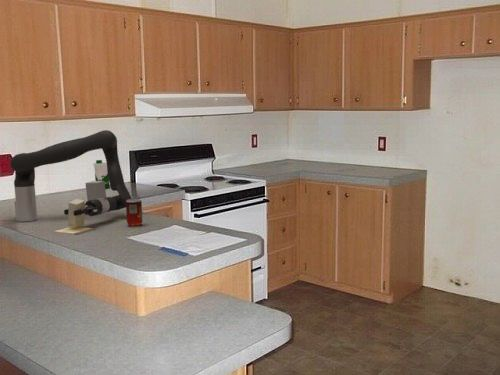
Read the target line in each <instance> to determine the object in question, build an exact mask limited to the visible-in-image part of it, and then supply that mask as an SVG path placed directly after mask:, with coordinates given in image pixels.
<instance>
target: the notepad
mask: <svg viewBox="0 0 500 375" xmlns="http://www.w3.org/2000/svg"><path fill="white" fill-rule="evenodd" d="M95 230H96V228H94V227H83V226H81V227H80V228H78V229H73V228H69V227H68V226H67V227H64V228H61V229H58V230H55V231H54V233H61V234H69V235H80V234H85V233H88V232H92V231H95Z"/></svg>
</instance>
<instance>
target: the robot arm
mask: <svg viewBox="0 0 500 375" xmlns="http://www.w3.org/2000/svg"><path fill="white" fill-rule="evenodd" d="M95 150H101V151H102V152H103V154H104V158H105V163H107V172H108V178H109V185H110V189H111V191H113V192H115V191H117V193H118V194H117V195H114V196H106V198H98V199H93V200H87V201H86V202H85V205H84V207H83V209H81V210H75V211H74V216H77V215H84V216H89V217H94V216H95V217H96V216H99V215H103V214H105V213H109V212H113V211H119V210H122V209H126V201H127V200H128V199H133V198H132V196H131V194H130V192H129V190H128V188H127V186H126V184H125V179H124V175H123V170H122V168H121V164H120V163H121V162H120V158H119V154H118V152H119V150H118V139H117V135H115V133H113V132H112V131H111V130H107V129H106V130H105V129H104V130H100V131H98V132H95V133H93V134H90V135H88V136H87V135H86V136H85V137H79V138H74V139H71V140H67V141H62V142H59V143H55V144H53V145H50V146H47V147H43V149H39V150H36V151H32V152H27V153H26V152H22V153H18V154H15V155H14V156H13V157H12V158H11V160H10V163H9V165H10V168H11V169H12V170H13V171H14V174H15V178H14V180H13V186H14V198H15V201H14V209H15V220H16V221H17V222H20V223H21V222H22V223H23V222H32V221H36V220H38V212H37V211H38V210H37V198H36V189H35V188H36V187H35V179H36V172H35V171H36V169H35V168H39V167H42V166H46V165H53V164H58V163H59V164H60V163H63V162H68V161H70V160H74V159H77V158H78V157H81V156H82V155H84V154H86V153H89V152H92V151H95ZM68 209H69V207H68V208H66V209H64V210H63V213H64V214H63V215H65V216H66V215H67V216H68Z"/></svg>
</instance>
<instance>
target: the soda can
mask: <svg viewBox="0 0 500 375" xmlns="http://www.w3.org/2000/svg"><path fill="white" fill-rule="evenodd" d="M142 205H143V204H142V200H141V199H140V198H132V199H128V200H127V201H126V208H125V212H126V223H127V224H128V227H131V228H136V227H137V228H138V227H141V226H142V223H143V206H142Z"/></svg>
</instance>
